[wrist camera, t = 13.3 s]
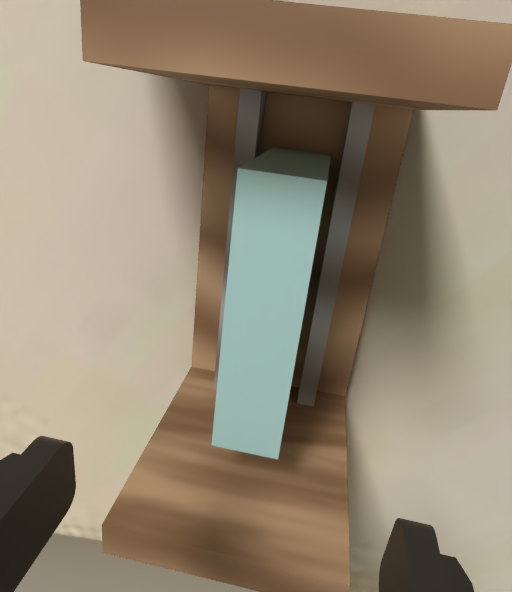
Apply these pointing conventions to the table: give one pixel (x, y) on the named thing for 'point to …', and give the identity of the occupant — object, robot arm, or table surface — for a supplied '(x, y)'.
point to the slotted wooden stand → (325, 270)
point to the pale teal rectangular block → (266, 295)
